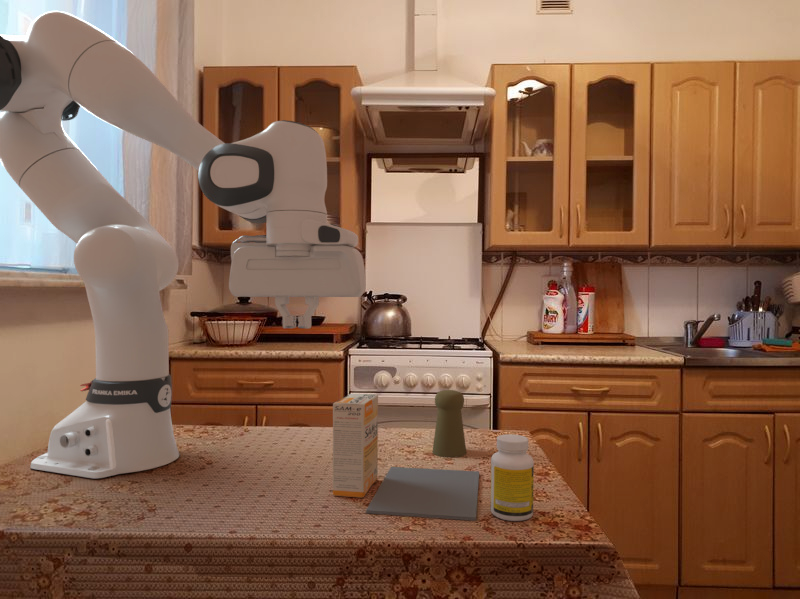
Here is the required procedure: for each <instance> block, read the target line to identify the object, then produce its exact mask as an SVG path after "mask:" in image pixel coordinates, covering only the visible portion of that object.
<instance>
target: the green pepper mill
mask: <svg viewBox="0 0 800 599" xmlns="http://www.w3.org/2000/svg"><path fill="white" fill-rule="evenodd" d="M434 404H435V407H436V408H437V414H436V423H435V430H434V438H433V443H432V445H433V446H432V454H433V455H434V456H436V457H440V458H441V457H442V458H460V457H464V456H466V455H467V447H466V439H465V430H464V421H463V417H462V414H463V413H462V409H463V407H464V406H465V405H464V404H465V397H464V395H463V393H462V392H461V391H458V390H454V389H445V390H440V391H437V393H436V394H435V397H434Z"/></svg>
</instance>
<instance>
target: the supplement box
mask: <svg viewBox="0 0 800 599" xmlns="http://www.w3.org/2000/svg"><path fill="white" fill-rule="evenodd" d="M378 422H379V395H378V394H371V393H369V394H368V393H349V394H348V395H346V396H344V397H342V398H340V399H338V400H337V401H335V402H333V403H332V495H333V496H337V497H349V498H358V499H361V498H362V499H363V498H364V497H365V496H366V494H367V493H368V491H369V490H370V489H371V487H372V486H373V484H375V482H376V481H377V480H378V460H379V459H378V452H379V451H378V447H379V446H378V445H379V444H378V442H379V441H378V440H379V436H378V435H379V434H378V433H379V430H378V429H379V428H378V427H379V426H378Z"/></svg>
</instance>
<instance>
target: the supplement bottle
mask: <svg viewBox="0 0 800 599" xmlns="http://www.w3.org/2000/svg"><path fill="white" fill-rule="evenodd" d="M496 449H497V450H498V451H496V452H495V453H493V454H492V456H491V459H490V513H491V514H492V515H493V516H494V517H496V518H498V519H501V520H504V521H510V522H521V521H526V520H529V519H531V518H532V516H533V515H534V478H535V477H534V475H535V474H534V473H535V472H534V470H535V469H534V468H535V467H534V466H535V464H534V459H533V456H531V455H530V454H528V453H527V452H528V450H529V438H528V437H526V436H524V435H520V434H513V433H512V434H511V433H509V434H508V433H507V434H500V435H498V436H496Z"/></svg>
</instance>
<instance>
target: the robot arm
mask: <svg viewBox="0 0 800 599" xmlns="http://www.w3.org/2000/svg"><path fill="white" fill-rule="evenodd" d="M80 108H82V109H84V110H85V111H86V112H88V113H89V114H91V115H92V116H93V117H94V116H95V117H96V118H97V119H100V120H101V121H103V122H105V123H106V124H108V125H110V126H112V127H115V128H117V129H118V130H121V131H123V132H126V133H128V134H131V135H133V136H136V137H138V138H140V139H142V140H145V141H147V142H150V143H152V144H155V145H156V146H159V147H161V148H163V149H165V150H167V151H169V152H170V153H173V154H174V155H176V156H178V157H179V158H180V159H182V160H183V161H184V162H186V163H187V164H188V165H190V167H193V168H194V169H196V171H198V173H197V174H198V175H197V177H198V178H197V179H198V183H199V188H200V190H201V191H202V193H203V195H204V196H205V197H206V198H207V199H208V200H209V202H211V203H212V204H215V205H216V206H218V207H219V208H222V209H224V210H226V211H227V212H230V213H232V214H235V215H237V216H238V217H240V218H241V219H243V220H245V221H246V222H248V223H252V224H265V223H266V224H265V225H266V226H265V228H266V232H265V233H266V234H259V235H258V234H257V235H247V234H246V235H245V234H244V235H240V236H239V238H237V239H234V241H233V242H232V243H231V246H230V260H231V264H230V270H229V279H228V290H229V291H230V294H231V295H232V296H233V297H236V298H237V297H239V298H241V297H242V298H243V297H244V298H247V297H249V298H250V297H251V298H252V297H255V298H256V297H257V298H258V297H260V298H261V297H262V298H263V297H265V298H267V297H269V298H270V297H271V298H272V297H274V303H275V304H274V305H275V307H276V309H277V310H278V312H279V314H280V315H281V317H282V328H283V329H295V328H297V327H298V329H311V328H312V316H314V314H315V312H316V311H317V308H318V306H319V304H320V300H319V298H360V297H362V296H363V294H364V293H365V292H366V288H367V287H366V285H367V284H366V270H365V263H364V258H363V256H362V254H361V252H360V251H359V250H358V248H356V247H357V246H358V244H359V237H358V234H356V233H355V232H354V231H352V230H350V229H347V228H343V227H340V225H336V224H333V223H328V211H327V207H326V203H325V196H326V191H327V188H328V166H327V164H328V162H327V152H326V148H325V147H326V146H325V142H324V139H323V137H322V136H321V135H320V133H319V132H317V131H316V130H315V129H314V128H313V127H311V126H310V125H306V124H304V123H301V122H297V121H293V120H286V119H285V120H284V119H283V120H276V121H273V122H271V123H270V124H269V125H268V126H267V127H266V128H265V129H264V130H262V131H260V132H258V133H256V134H255V135H252V136H250V137H247V138H245V139H241V140H238V141H234V142H231V143H228V142H226V143H225V141H223V140H221V139H219V137H218V136H216V135H215V134H213V133H212V132H211V131H210V130H208V129H207V128H205V127H204V126H203V125H202V124H201V123H200V122H198V121H197V120H196V119H195V118H194V117H193V116H192V115H191V114H190V113H189V112H188V111H187V109H185V108H184V106H183V105H182V104H181V103H180V102H179V101H178V99H176V97H175V96H174V94H172V93H171V92H170V90H169V89H168V88H167V87H166V85H164V83H162V81H161V80H160V79H159V78H158V77H157V76H156V75H155V74H154V73H153V71H152V70H151V69H150V68H149V67H148V66H147V65H146V64H145V63H144V61H143V62H142V60H141V59H140V58H138V56H136V55H135V54H134V52H132V51H131V50H129V49H128V48H127V47H126V46H125V45H123V44H122V43H120V42H119V40H118V41H117V40H116V39H115V38H114V37H112V36H110V35H109V34H107V33H106V32H104V31H103V30H101V29H100V28H98V27H96V26H95V25H93V24H91V23H89V22H87V21H85V20H84V19H82V18H80V17H78V16H75V15H74V14H72V13H69V12H67V11H59V10H51V11H47V12H44V13H43V14H40V15H38V16H37V17H36V18H35V19H34V20H33V21H32V22H31V23H30V25H29V27H28V29H27V32H26V35H19V34H10V35H9V34H8V35H7V34H0V163H1V166H3V168H4V170H5V171H6V173H7V174H8V175H9V176H10V177H11V178H12V180H13V181H14V182H15V184H17V186H18V187H19V188H20V189H21V190H22V191H23V193H24V194H25V195H26V196H27V197H28V199H29V200H30V201H31V202H32V203H33V204H34V205H35V206H36V207H37V209H38V210H39V211H40V212H41V213H42V214H43V216H44V217H45V218H46V219H47V220H48V221H49V222H50V224H52V225H53V227H54V228H56V229H57V230H58V231H59V232H61V233H62V234H64V235H66V236H67V237H68V238H69V239H70V240H72V241H73V243H75V248H74V250H73V251H74V252H73V264H74V267H75V269H76V271H77V273H78V275H79V277H80V278H81V279H82V281H83V283H84V286H85V288H84V289H85V291H86V296H87V300H88V303H89V305H88V306H89V308H90V312H91V318H92V322H93V327H94V328H93V329H94V338H95V339H94V340H95V341H94V342H95V378H94V379H92V380H91V381H90V382H87V383H81V384H80V387H83V388H81V389H80V392H86V391H88V392H87V395H86V397H85V402H83V403H82V404H81V405H79V406H78V407H77V408H76V409H74V410H73V411H72V412H71V413H69V414H68V415H67V416H65V417H64V418H63V419H61V420H60V421H59V422H58V423H56V424H55V425H54V427H52V430H51V431H50V435H49V438H48V445H47V452H45V453H43V454H40V455H39V456H37V457H36V458H34V459H33V460H32V461H30V462H31V463H30V469H32V470H39V471H45V472H50V473H57V474H63V475H69V476H74V477H75V476H76V477H82V478H87V479H103V478H107V477H108V478H109V477H111V476H116V475H122V474H129V473H135V472H141V471H147V470H152V469H156V468H158V467H162V466H165V465H167V464H170V463H172V462H174V461H176V460H177V459H178V458H179V457H180V452H179V449H178V445H177V442H176V439H175V435H174V434H175V433H174V428H173V423H172V422H173V421H172V416H171V414H172V413H171V406H172V399H173V398H172V397H173V390H172V389H173V387H172V385H173V384H172V375H171V374H170V371H169V370H170V364H169V360H170V358H169V357H170V356H169V353H170V352H169V345H170V344H169V343H170V342H169V328H168V327H169V326H168V325H167V322H166V319H165V316H164V315H165V314H164V311H163V306H162V300H161V294H160V292H161V291H162V290H164V289H165V288H167V287H168V286H169V285H170V284H171V283H172V282H173V281H174V280H175V278H176V277H177V274H178V273H179V272H178V271H179V265H180V264H179V257H178V255H177V253H176V251H175V250H174V248H173V247H172V246H171V244H170V243H169V242H167V240H166V239H165V238H164V237H163V236H162V235H161V233H159V232H158V230H157V229H156V228H155V227H154V226H153V225H152V224H151V223H150V222H149V221H148V220H147V219H146V218H145V216H143V215H142V214H141V213H140V212H139V210H137V209H136V208H135V207H134V206H133V205H132V204H130V202H129V201H127V200H126V199H125V198H124V196H122V194H120V193H119V192H118V191H117V190H116V188H114V186H113V185H112V184H111V183H110V182H109V181H108V180H107V178H105V177H104V175H103V174H102V172H100V171H99V170H98V168H97V167H96V166H95V165H94V164H93V163H92V161H91V160H90V158H88V157H87V155H85V153H84V152H83V151H82V150H81V149H80V148H79V147H78V145H77V144H76V143H75V142H74V141H73V140H72V139H71V138H70V137H69V135H68V134H67V133H66V131H65V130H64V127H63V122H64V121H66V122H67V121H71V120H74V119H75V118H77V116H78V113H79V111H80ZM70 115H71V116H70ZM62 121H63V122H62ZM291 297H292V298H300V297H301V298H303V297H304V299H305V300H304V303H305V305H307V308H306V310H305V312H304V314H303V315H300V316H299V315H298V316H297V315H292V314H291V312H290V311H289V309H288V307H287V305H290V298H291ZM297 322H298V323H297Z"/></svg>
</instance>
